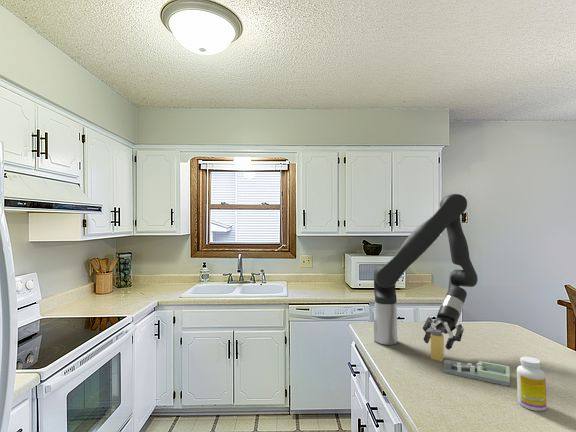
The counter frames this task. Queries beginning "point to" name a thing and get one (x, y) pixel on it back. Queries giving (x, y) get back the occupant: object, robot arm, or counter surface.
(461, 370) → the board
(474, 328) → the counter surface
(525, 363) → the supplement bottle
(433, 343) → the block
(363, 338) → the counter surface
